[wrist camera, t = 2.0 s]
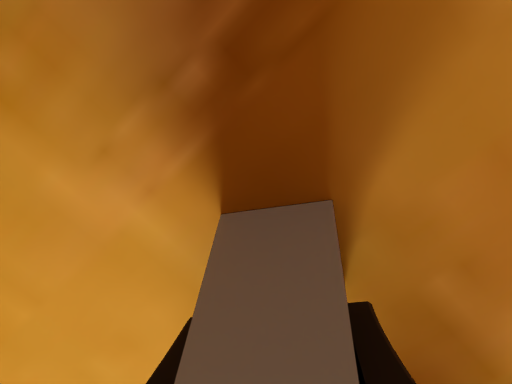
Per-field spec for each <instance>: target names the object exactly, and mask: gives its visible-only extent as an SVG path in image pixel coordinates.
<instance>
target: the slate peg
mask: <svg viewBox="0 0 512 384" xmlns="http://www.w3.org/2000/svg"><path fill="white" fill-rule="evenodd" d="M174 384H359V380H358V373H357V366H356V359H355V352H354V345H353V339H352V332H351V325H350V318H349V311H348V304H347V297H346V290H345V284H344V277H343V270H342V263H341V256H340V249H339V242H338V235H337V229H336V222H335V215H334V208H333V201H332V200H327V201H320V202H312V203H304V204H297V205H289V206H281V207H274V208H266V209H258V210H251V211H243V212H235V213H228V214H221V216H220V220H219V223H218V227H217V230H216V234H215V238H214V241H213V245H212V249H211V252H210V256H209V259H208V263H207V267H206V270H205V274H204V278H203V281H202V285H201V288H200V292H199V296H198V299H197V303H196V307H195V310H194V314H193V317H192V321H191V325H190V328H189V332H188V336H187V339H186V343H185V346H184V350H183V354H182V357H181V361H180V365H179V368H178V372H177V375H176V379H175V383H174Z"/></svg>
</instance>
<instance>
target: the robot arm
mask: <svg viewBox="0 0 512 384" xmlns="http://www.w3.org/2000/svg"><path fill="white" fill-rule="evenodd" d="M347 304H348V311H349V318H350V325H351V332H352V339H353V345H354V352H355V359H356V366H357V373H358V380H359V384H416V383H415V381H414V380H413V378H412V377H411V375H410V374H409V372H408V371H407V370H406V368H405V366H404V365H403V363H402V362H401V360H400V358H399V357H398V355H397V354H396V352H395V350H394V349H393V347H392V345H391V344H390V342H389V340H388V338H387V337H386V335H385V333H384V331H383V329H382V327H381V325H380V323H379V321H378V319H377V317H376V314H375V312H374V309H373V306H372V304H371V303H369V302H368V301H367V302H355V303H347ZM191 321H192V317H191V318H190V319H189V320H188V321H187V323H186V324H185V326H184V327H183V329H182V331H181V332H180V334H179V335H178V337H177V338H176V340H175V341H174V343H173V345H172V346H171V348H170V349H169V351H168V352H167V354H166V355H165V357H164V358H163V360H162V361H161V363H160V364H159V365H158V367H157V368H156V370H155V371H154V373H153V374H152V376H151V377H150V378H149V380H148V381H147V383H146V384H174V383H175V379H176V375H177V372H178V368H179V365H180V361H181V357H182V354H183V350H184V346H185V343H186V339H187V336H188V332H189V328H190V325H191Z"/></svg>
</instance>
